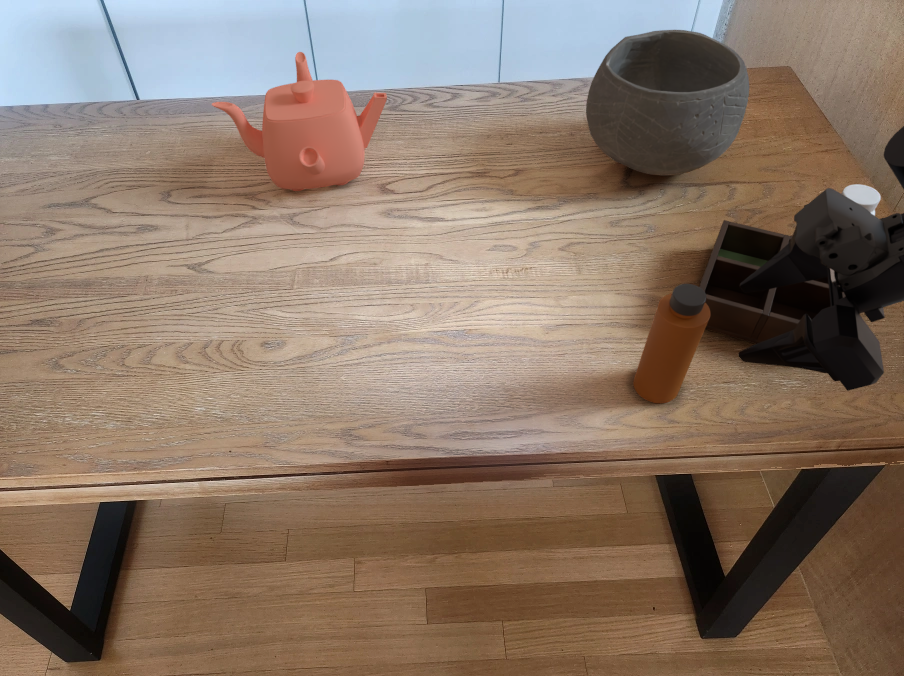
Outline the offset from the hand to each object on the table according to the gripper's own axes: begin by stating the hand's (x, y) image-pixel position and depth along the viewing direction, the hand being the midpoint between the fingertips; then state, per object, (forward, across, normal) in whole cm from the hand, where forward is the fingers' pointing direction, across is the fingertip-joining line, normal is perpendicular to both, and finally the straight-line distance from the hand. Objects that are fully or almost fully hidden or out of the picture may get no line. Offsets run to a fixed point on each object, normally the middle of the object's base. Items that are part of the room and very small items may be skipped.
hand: (741, 321), depth 63 cm
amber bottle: (+12, 0, +5) cm, 13 cm away
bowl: (+15, -44, +2) cm, 46 cm away
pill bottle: (-2, -28, +18) cm, 34 cm away
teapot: (+50, -30, -33) cm, 67 cm away
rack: (+4, -16, +12) cm, 21 cm away
